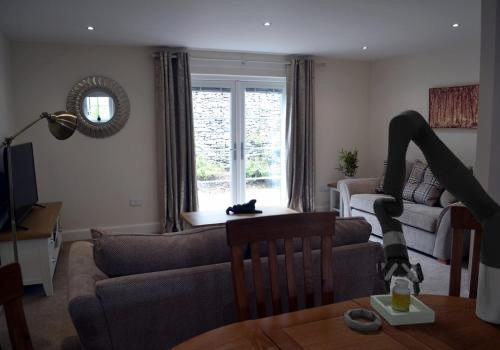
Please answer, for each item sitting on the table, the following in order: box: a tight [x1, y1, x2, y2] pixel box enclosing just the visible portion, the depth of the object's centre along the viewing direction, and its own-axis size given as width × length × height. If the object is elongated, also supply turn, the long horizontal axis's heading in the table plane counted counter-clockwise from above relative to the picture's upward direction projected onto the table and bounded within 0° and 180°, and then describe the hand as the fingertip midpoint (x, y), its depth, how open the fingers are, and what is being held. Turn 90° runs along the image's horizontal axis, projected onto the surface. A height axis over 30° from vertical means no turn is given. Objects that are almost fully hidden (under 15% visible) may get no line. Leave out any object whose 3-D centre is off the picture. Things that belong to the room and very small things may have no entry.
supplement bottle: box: [391, 278, 411, 313], centre depth 127 cm, size 5×5×10 cm
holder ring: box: [343, 308, 382, 332], centre depth 121 cm, size 10×10×2 cm
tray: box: [369, 293, 436, 326], centre depth 127 cm, size 14×14×3 cm
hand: (402, 294), depth 125 cm, fingers open, 8 cm apart
